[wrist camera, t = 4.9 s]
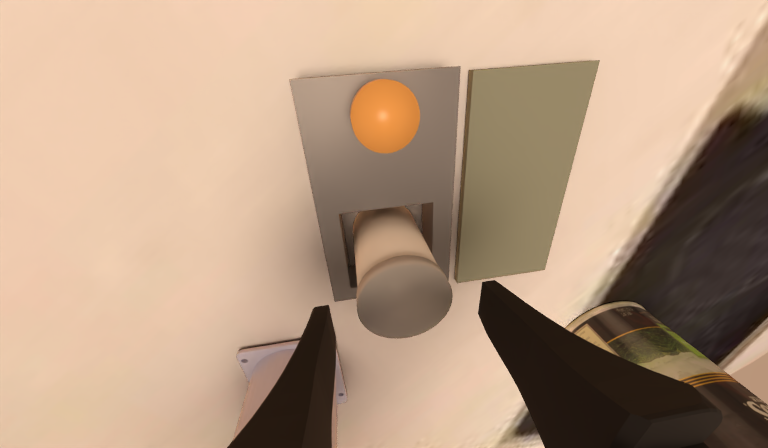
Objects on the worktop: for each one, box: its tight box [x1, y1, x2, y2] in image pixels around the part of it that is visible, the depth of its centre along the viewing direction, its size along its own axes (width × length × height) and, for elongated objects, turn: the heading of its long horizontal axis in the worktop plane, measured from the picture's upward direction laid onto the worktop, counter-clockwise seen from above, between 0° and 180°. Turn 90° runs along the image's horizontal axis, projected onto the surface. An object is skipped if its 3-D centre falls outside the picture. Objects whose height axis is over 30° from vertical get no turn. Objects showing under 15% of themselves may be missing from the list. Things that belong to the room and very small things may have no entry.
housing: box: [289, 66, 460, 302], centre depth 17 cm, size 14×8×2 cm, turn 4°
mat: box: [455, 60, 600, 283], centre depth 19 cm, size 15×8×1 cm, turn 4°
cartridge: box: [353, 206, 452, 338], centre depth 17 cm, size 5×5×8 cm
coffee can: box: [565, 301, 768, 448], centre depth 24 cm, size 10×10×14 cm
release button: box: [350, 79, 420, 153], centre depth 14 cm, size 3×3×4 cm
